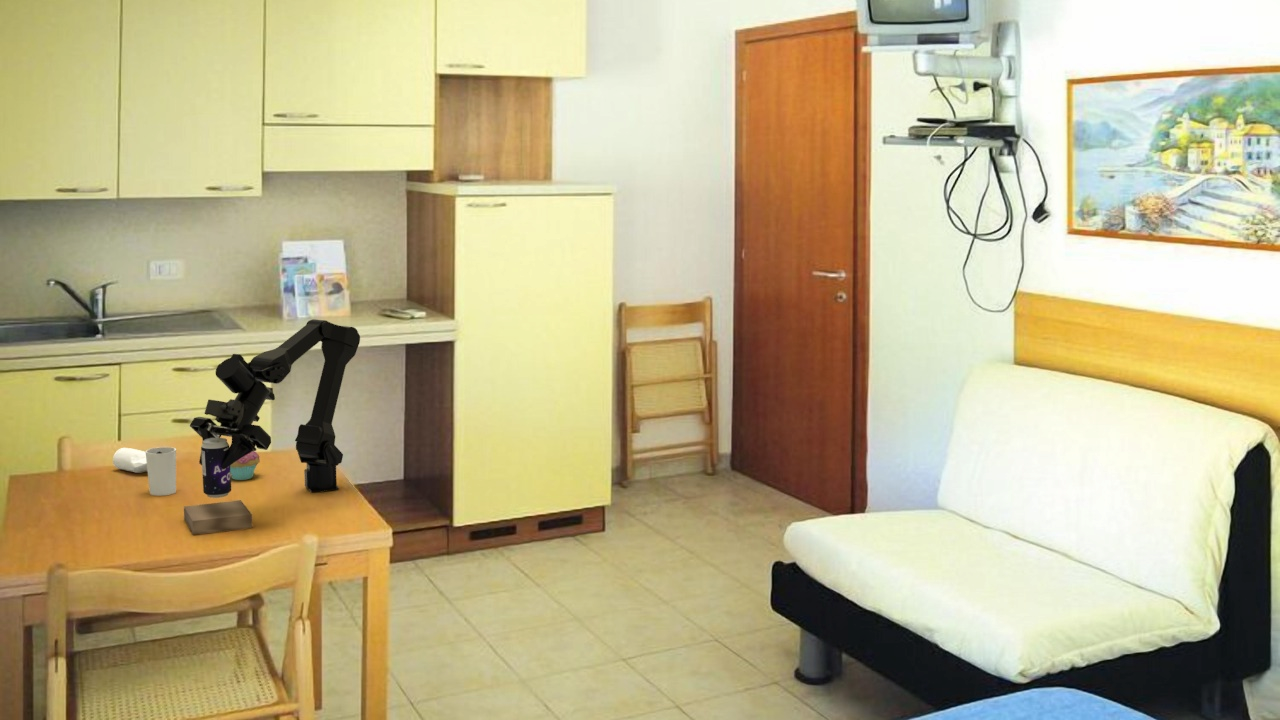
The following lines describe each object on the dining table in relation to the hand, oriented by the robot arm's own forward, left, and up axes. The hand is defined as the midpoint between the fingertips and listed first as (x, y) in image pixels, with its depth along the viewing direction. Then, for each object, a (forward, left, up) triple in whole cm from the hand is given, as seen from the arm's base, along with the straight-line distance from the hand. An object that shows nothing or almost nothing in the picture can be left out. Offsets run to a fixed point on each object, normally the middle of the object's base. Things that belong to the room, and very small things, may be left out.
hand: (211, 466), depth 280 cm
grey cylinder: (+6, -32, -13) cm, 35 cm away
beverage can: (-1, -1, -7) cm, 7 cm away
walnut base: (-1, -1, -13) cm, 13 cm away
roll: (+9, -53, -13) cm, 56 cm away
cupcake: (-13, -38, -13) cm, 42 cm away
